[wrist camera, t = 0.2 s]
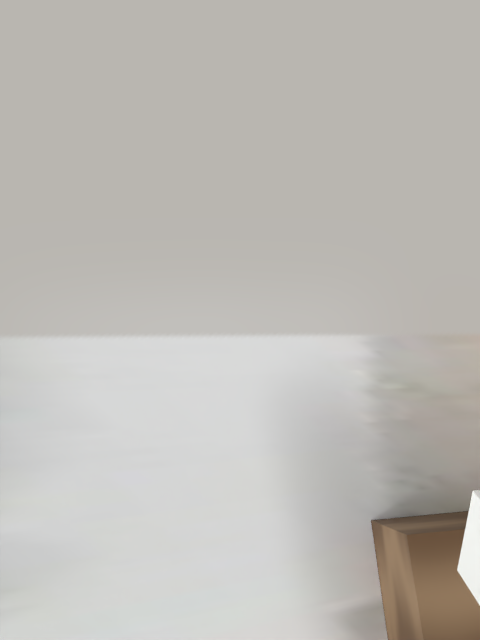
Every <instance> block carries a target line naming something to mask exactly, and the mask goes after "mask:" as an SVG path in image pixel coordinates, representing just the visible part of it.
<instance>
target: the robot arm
mask: <svg viewBox="0 0 480 640" xmlns="http://www.w3.org/2000/svg"><path fill="white" fill-rule="evenodd" d="M457 571H458V572H459V574H460V575H461V577H462V579H463V580H464V582H465V583H466V585H467V586H468V588H469V590H470V591H471V593H472V594H473V596H474V597H475V599H476V600H477V602H478V604H479V605H480V490H474V491H473V492H472V497H471V502H470V507H469V512H468V517H467V522H466V528H465V533H464V538H463V543H462V548H461V553H460V558H459V563H458V568H457Z"/></svg>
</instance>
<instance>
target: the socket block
mask: <svg viewBox="0 0 480 640" xmlns="http://www.w3.org/2000/svg"><path fill="white" fill-rule="evenodd" d="M468 512H469V511H465V512H455V513H444V514H434V515H423V516H412V517H402V518H391V519H380V520H371V523H372V530H373V537H374V544H375V551H376V558H377V565H378V572H379V579H380V586H381V593H382V600H383V607H384V614H385V621H386V628H387V635H388V640H480V605H479V604H478V602H477V600H476V599H475V597H474V596H473V594H472V593H471V591H470V590H469V588H468V586H467V585H466V583H465V582H464V580H463V579H462V577H461V575H460V574H459V572H458V571H457V568H458V563H459V558H460V553H461V548H462V543H463V538H464V533H465V528H466V522H467V517H468Z"/></svg>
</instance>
